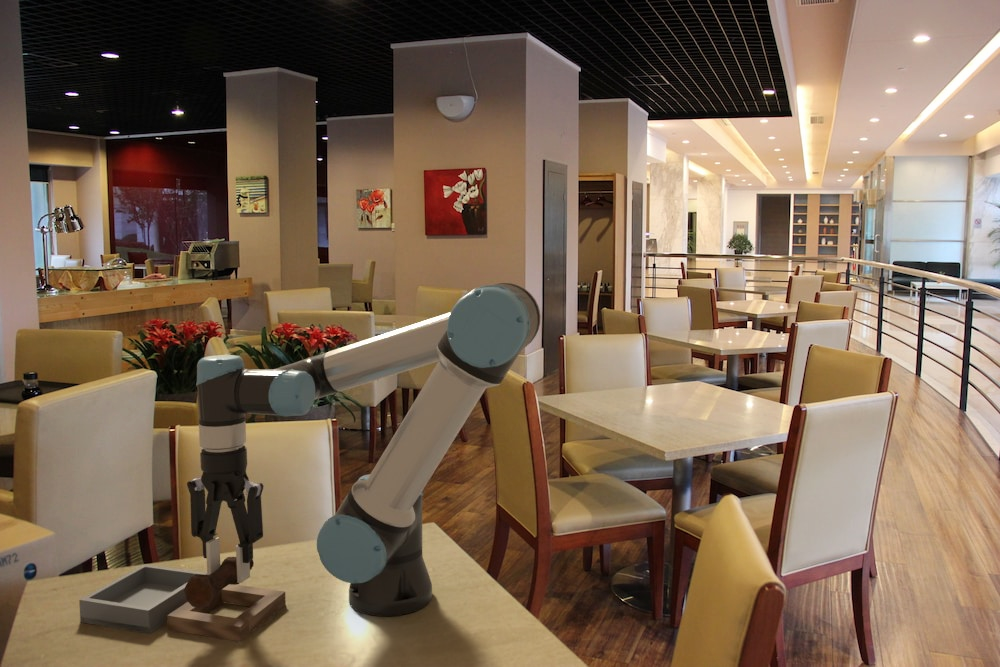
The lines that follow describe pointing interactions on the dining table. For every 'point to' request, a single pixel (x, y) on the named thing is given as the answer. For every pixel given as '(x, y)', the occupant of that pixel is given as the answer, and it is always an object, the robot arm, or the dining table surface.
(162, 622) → the tray
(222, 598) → the rectangular frame
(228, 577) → the bolt
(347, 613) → the dining table surface
